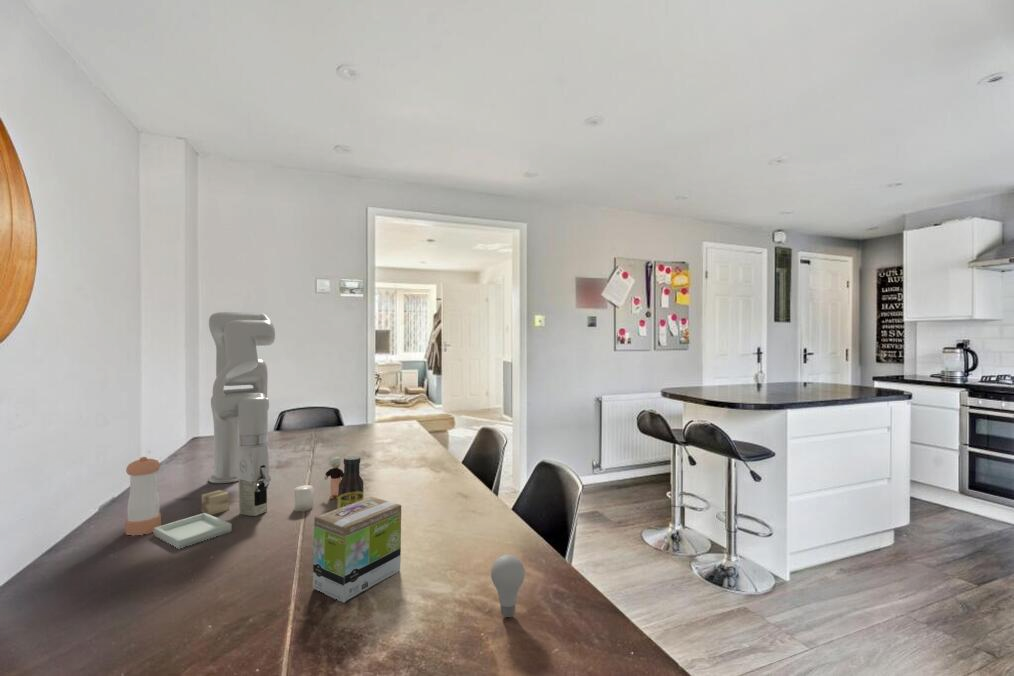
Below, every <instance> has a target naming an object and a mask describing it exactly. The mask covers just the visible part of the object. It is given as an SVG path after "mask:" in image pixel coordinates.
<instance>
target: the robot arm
mask: <svg viewBox="0 0 1014 676" xmlns="http://www.w3.org/2000/svg"><path fill="white" fill-rule="evenodd" d="M208 327H209V332H210V335H211V337H212V339H213V341H214V345H215V349H216V350H215V352H216V355H215V356H216V357H215V358H216V359H215V363H216V364H215V370H216V371H215V375H216V378H215V380H214V382H213V385H212V386H213V387H212V396H211V399H210V406H211V413H212V421H213V467H212V470H213V474H212V475H210V476H209V477H208V481H209V482H210V483H212V484H228V483H230V484H231V483H235V482H239V479H240V480H243V481H246V482H249V483H254V482H255V488H256V491H255V492H254V505H255V506H258V505H262V504H265V503H266V502H267V503H268V487H269V484H270V482H271V480H272V478H271V476H270V462H269V461H270V460H269V451H268V444H269V437H268V435H269V431H268V430H269V427H268V426H269V425H268V424H269V423H268V422H269V419H268V418H269V417H268V415H269V412H268V411H269V408H270V402H269V401H270V400H269V398H268V379H269V378H268V375H269V374H268V366H267V364H266V362H265V361H264V360H263V359H261V358H258V351H257V350H258V349H257V346H260V347H261V346H265V347H266V346H271V345H272V344H274V343H275V339H276V331H275V327H274V324H273V322H272V320H271V319H270V318H269V317H268V316H267V315H266V314H265V313H261V312H239V311H222V312H221V311H220V312H215V313H212V314H211V315H210V316H209V318H208ZM236 386H237V387H238V386H252V387H249V388H248V387H247V388H229V389H224V388H225V387H236ZM259 477H262V479H259V480H258V478H259ZM258 482H262V483H261V484H260V486H259V483H258Z"/></svg>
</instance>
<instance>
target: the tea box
mask: <svg viewBox="0 0 1014 676" xmlns="http://www.w3.org/2000/svg"><path fill="white" fill-rule="evenodd" d="M313 525H314V527H313V558H312V560H313V561H312V563H313V566H312V567H313V570H312V589H314V590H316V591H318V592H319V591H320V592H319V593H321V592H322V594H323V593H324V595H325V596H328V597H330V598H331V599H333V600H336V599H337V600H336V601H338V602H340V603H343V604H344V603H346V602H348V601H349V600H350V599H353V598H354V597H355V596H358V595H359V594H361V593H363V592H365V591H366V590H368V589H369V588H371V587H374V586H375V585H377V584H379V583H381V582H382V581H385V580H386V579H388V578H390V577H392V576H394V575H396V574H397V573H399V572H400V571H401V561H402V560H401V554H402V550H401V547H402V538H401V537H402V504H399V503H396V502H392V501H389V500H385V499H381V498H377V497H374V496H369V497H367V498H363V500H361V501H358V502H355V503H352V504H350V505H347V506H344V507H341V508H338V509H337V508H336V509H333V510H331V511H327V512H324V513H322V514H319V515H316V516H315V517H314V524H313ZM398 571H399V572H398ZM395 573H396V574H395ZM393 574H394V575H393Z"/></svg>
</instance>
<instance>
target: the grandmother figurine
mask: <svg viewBox="0 0 1014 676" xmlns="http://www.w3.org/2000/svg"><path fill="white" fill-rule="evenodd" d="M341 460H342V459H341V458H340V457H339V456H334V457H333V458H331V460H330V461H329V466H331V468H330V469H328V470H327V471H326V472H325V474H324V475H325V476H324V479H323V480H328V479H329V478H330V497H329V499H332V500H333V499H336V500H338V493H339V483H340V482H341V480H342V478H343V476H344V470H342V469H340V466H341V462H342V461H341Z"/></svg>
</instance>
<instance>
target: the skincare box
mask: <svg viewBox="0 0 1014 676" xmlns="http://www.w3.org/2000/svg"><path fill="white" fill-rule="evenodd" d="M259 479H262V477H259V478H258V480H259ZM258 483H259V486H260V484H261V483H262V482H258ZM255 491H256V488H255V482H254V483H249V482H246V481H243V480H240V479H239V481H238V494H239V495H238V497H239V498H238V499H239V500H238V501H239V515H244V516H251V517H256V516H259V515H262V514H263V513H266V512H268V501H267V502H266V503H265V504H262V505H258V506H255V505H254V492H255Z"/></svg>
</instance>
